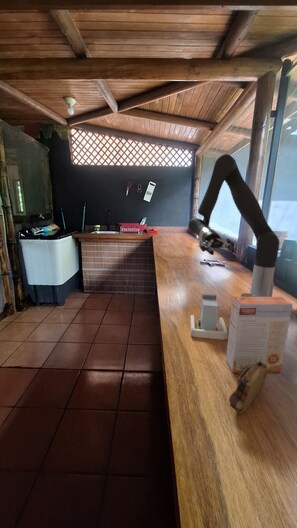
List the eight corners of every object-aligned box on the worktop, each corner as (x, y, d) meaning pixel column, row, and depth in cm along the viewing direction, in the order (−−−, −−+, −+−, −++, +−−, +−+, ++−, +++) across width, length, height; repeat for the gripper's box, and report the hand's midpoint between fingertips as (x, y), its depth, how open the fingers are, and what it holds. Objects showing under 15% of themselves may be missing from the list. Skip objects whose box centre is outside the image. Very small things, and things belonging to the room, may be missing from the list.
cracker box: (269, 360, 72) (281, 295, 66) (281, 373, 66) (294, 304, 61) (224, 359, 71) (232, 295, 66) (231, 373, 65) (240, 303, 60)
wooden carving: (248, 379, 63) (253, 346, 61) (266, 387, 61) (272, 353, 58) (222, 419, 51) (227, 380, 49) (243, 432, 48) (250, 391, 46)
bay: (222, 323, 93) (222, 317, 92) (227, 340, 82) (227, 333, 81) (190, 320, 95) (190, 314, 94) (190, 336, 83) (191, 330, 83)
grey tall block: (214, 325, 92) (217, 295, 89) (216, 334, 85) (220, 302, 82) (198, 323, 93) (200, 293, 89) (199, 332, 86) (202, 301, 83)
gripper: (195, 231, 109) (206, 245, 95) (224, 228, 110) (240, 242, 96) (194, 245, 113) (205, 261, 99) (222, 243, 114) (238, 258, 100)
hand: (222, 252), depth 97 cm, fingers open, 8 cm apart
